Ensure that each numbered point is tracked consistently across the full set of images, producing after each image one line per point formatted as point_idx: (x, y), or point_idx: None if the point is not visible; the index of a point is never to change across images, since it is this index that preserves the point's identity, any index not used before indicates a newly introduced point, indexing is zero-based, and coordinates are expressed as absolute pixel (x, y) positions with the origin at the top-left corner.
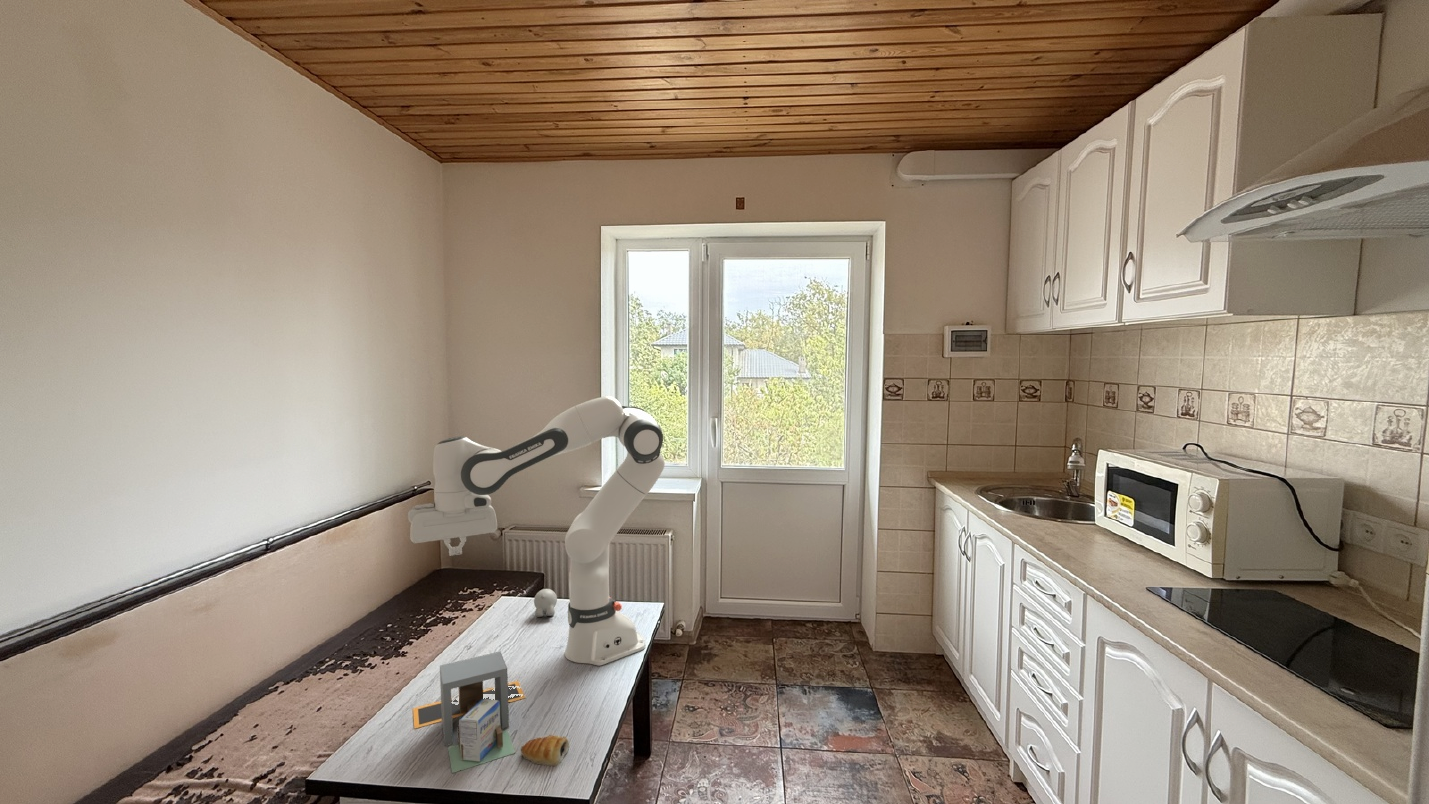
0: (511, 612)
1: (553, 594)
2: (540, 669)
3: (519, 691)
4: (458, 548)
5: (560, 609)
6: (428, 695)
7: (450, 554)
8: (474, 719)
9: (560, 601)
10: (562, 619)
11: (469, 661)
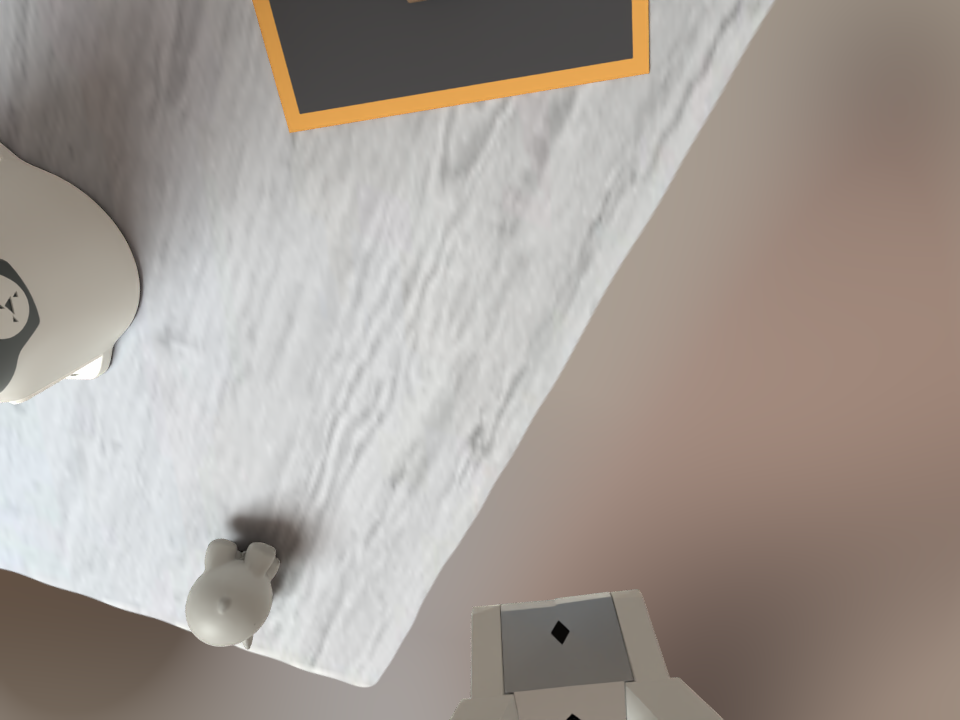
0: (363, 607)
1: (188, 610)
2: (217, 194)
3: (274, 39)
4: (524, 683)
5: None
6: (597, 155)
7: (633, 598)
8: None
9: None
10: (191, 520)
11: None
